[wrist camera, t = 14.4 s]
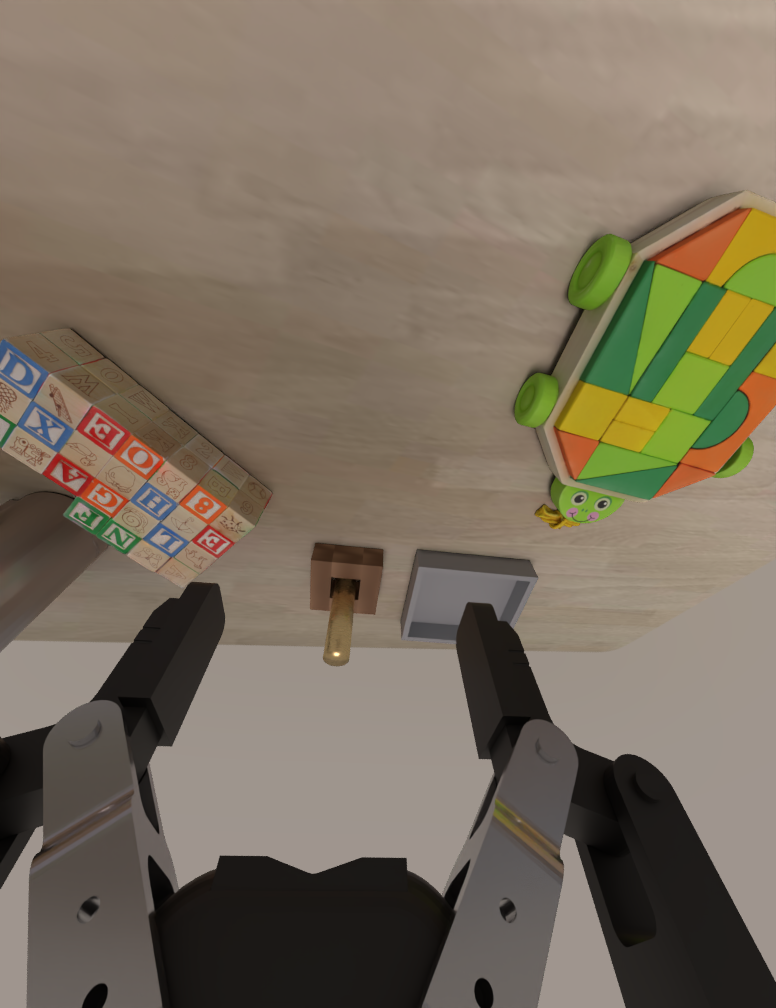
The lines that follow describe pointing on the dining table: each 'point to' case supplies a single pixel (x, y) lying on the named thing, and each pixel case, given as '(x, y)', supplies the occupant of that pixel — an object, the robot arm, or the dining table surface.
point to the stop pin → (340, 623)
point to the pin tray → (461, 592)
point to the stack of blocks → (122, 457)
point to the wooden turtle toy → (661, 361)
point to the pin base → (345, 575)
